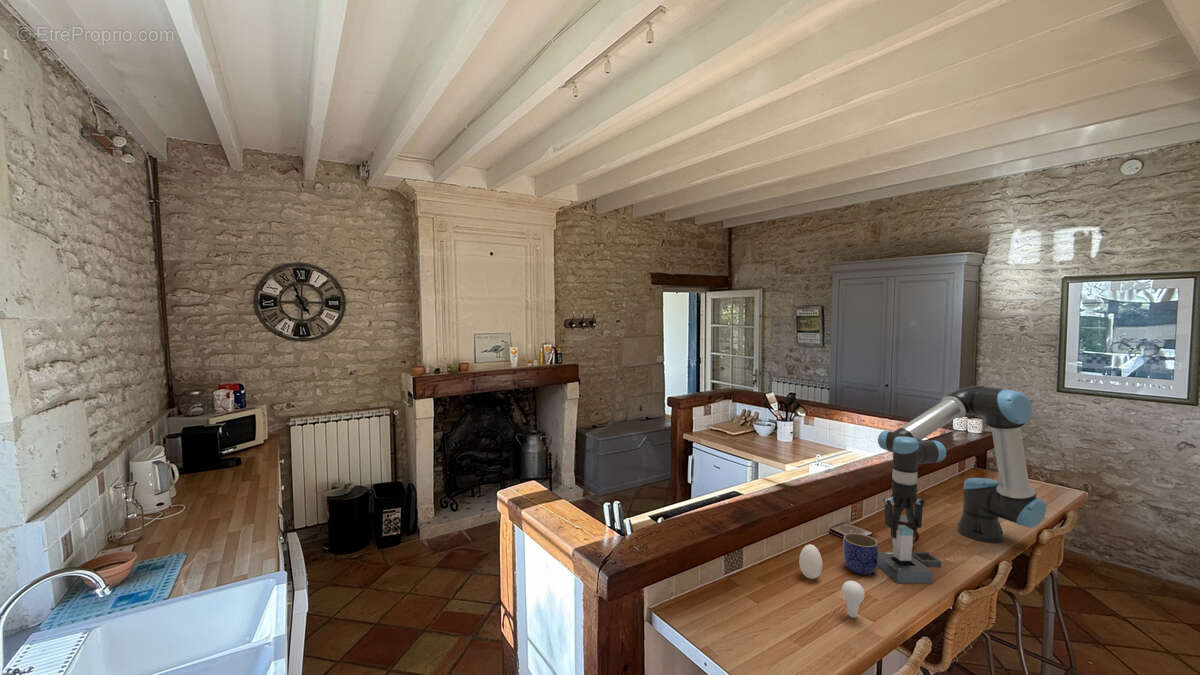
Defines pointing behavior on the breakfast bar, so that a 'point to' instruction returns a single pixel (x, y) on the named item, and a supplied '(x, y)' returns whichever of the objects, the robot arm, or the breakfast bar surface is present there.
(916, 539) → the mug
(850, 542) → the planter
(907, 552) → the plug
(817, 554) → the egg
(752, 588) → the breakfast bar surface
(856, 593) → the lightbulb
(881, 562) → the panel
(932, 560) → the holster
